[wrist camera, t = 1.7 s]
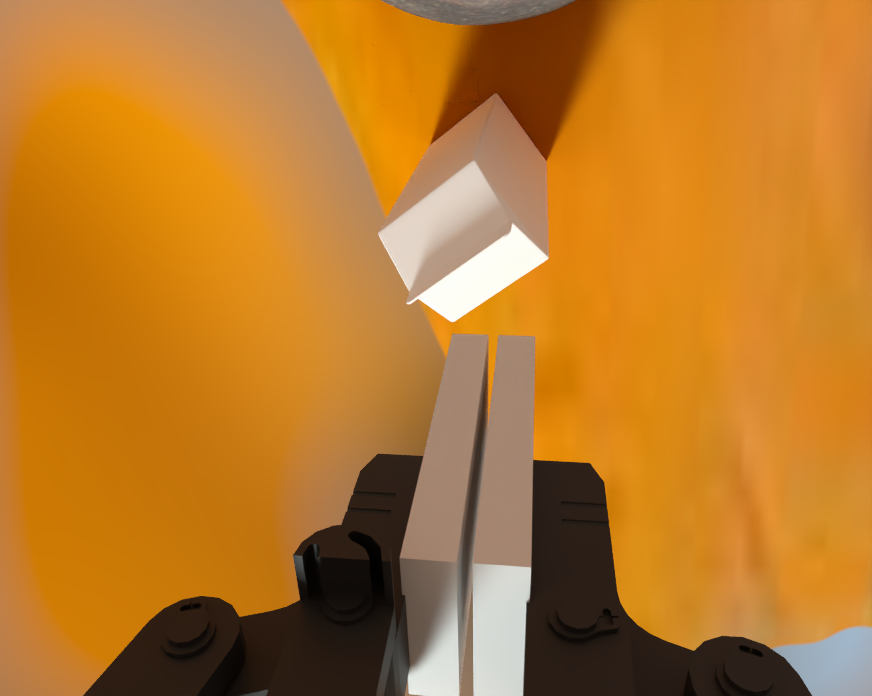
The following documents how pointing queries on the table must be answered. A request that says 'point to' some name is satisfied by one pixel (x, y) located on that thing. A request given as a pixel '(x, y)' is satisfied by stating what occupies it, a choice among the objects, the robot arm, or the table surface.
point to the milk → (471, 213)
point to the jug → (478, 10)
